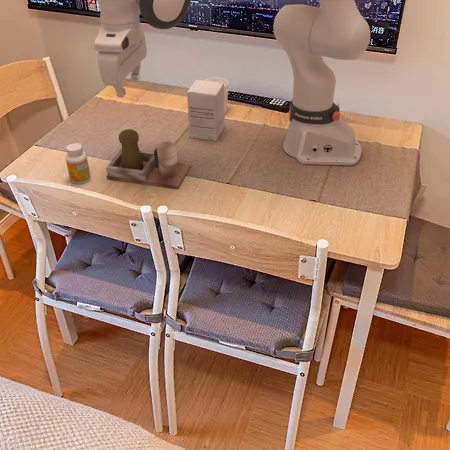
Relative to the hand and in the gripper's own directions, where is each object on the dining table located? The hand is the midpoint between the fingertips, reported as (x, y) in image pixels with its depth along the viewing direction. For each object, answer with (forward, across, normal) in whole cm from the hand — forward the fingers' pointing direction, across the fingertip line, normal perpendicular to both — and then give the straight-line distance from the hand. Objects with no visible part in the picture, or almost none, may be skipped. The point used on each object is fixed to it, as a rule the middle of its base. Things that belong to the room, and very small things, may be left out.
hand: (128, 88), depth 131 cm
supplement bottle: (+23, +9, -13) cm, 28 cm away
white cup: (+24, -39, +12) cm, 48 cm away
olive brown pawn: (+22, +2, -1) cm, 23 cm away
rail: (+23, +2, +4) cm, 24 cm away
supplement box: (+24, -24, +13) cm, 36 cm away
